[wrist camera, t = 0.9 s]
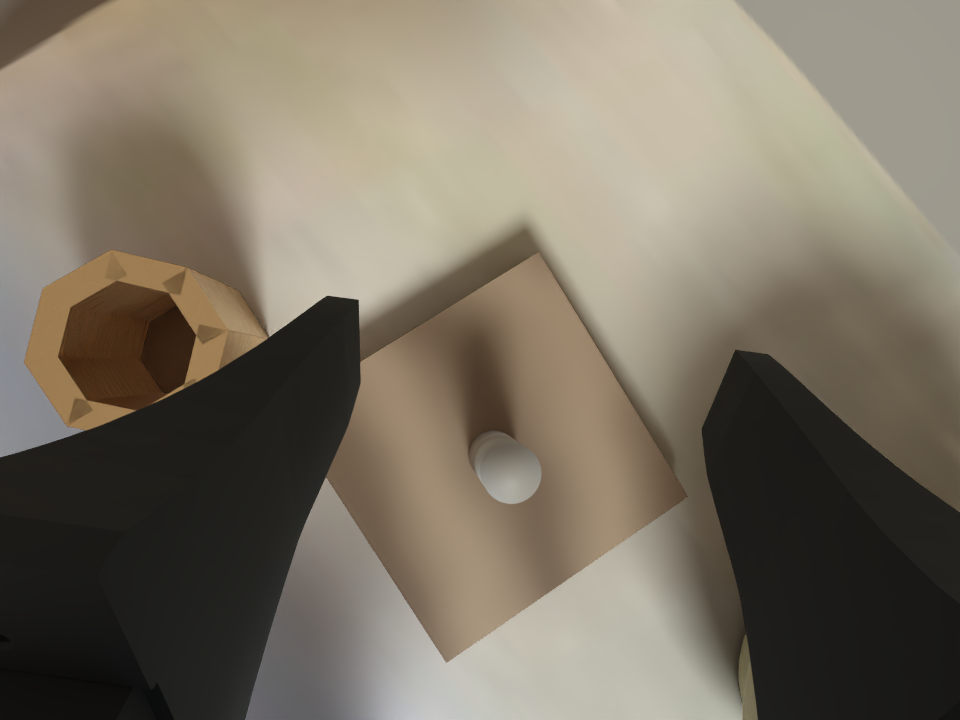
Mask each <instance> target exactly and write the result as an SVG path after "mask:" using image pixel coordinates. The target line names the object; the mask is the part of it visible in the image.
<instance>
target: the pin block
mask: <svg viewBox="0 0 960 720" xmlns="http://www.w3.org/2000/svg"><path fill="white" fill-rule="evenodd" d="M360 373H361V384H360V388H359V391H358V395H357V398H356V402H355V405H354V409H353V412H352V415H351V419H350V422H349V425H348V428H347V430H346V432H345V435H344V437H343V439H342V441H341V444H340V446H339V448H338V451H337V453H336V455H335V457H334V460H333V462H332V464H331V466H330V468H329V471H328V473H327V475H326V477H327V479H328V481H329V482H330V484H331V485H332V487H333V488H334V490H335V491H336V493H337V494H338V496H339V498H340V499H341V501H342V502H343V504H344V505H345V507H346V508H347V510H348V511H349V513H350V515H351V516H352V518H353V519H354V521H355V522H356V524H357V525H358V527H359V528H360V530H361V532H362V533H363V535H364V536H365V538H366V539H367V541H368V542H369V544H370V545H371V547H372V549H373V550H374V552H375V553H376V555H377V556H378V558H379V559H380V561H381V562H382V564H383V566H384V567H385V569H386V570H387V572H388V573H389V575H390V576H391V578H392V579H393V581H394V583H395V584H396V586H397V587H398V589H399V590H400V592H401V593H402V595H403V596H404V598H405V600H406V601H407V603H408V604H409V606H410V607H411V609H412V610H413V612H414V614H415V615H416V617H417V618H418V620H419V621H420V623H421V624H422V626H423V627H424V629H425V631H426V632H427V634H428V635H429V637H430V638H431V640H432V641H433V643H434V644H435V646H436V648H437V649H438V651H439V652H440V654H441V655H442V657H443V658H444V660H445V661H446V663H447V662H448V661H450V660H451V659H453V658H454V657H456V656H457V655H459V654H460V653H461V652H463V651H464V650H466V649H467V648H469V647H470V646H472V645H473V644H475V643H476V642H477V641H479V640H480V639H482V638H483V637H485V636H486V635H488V634H489V633H490V632H492V631H493V630H495V629H496V628H498V627H499V626H501V625H502V624H504V623H505V622H506V621H508V620H509V619H511V618H512V617H514V616H515V615H517V614H518V613H520V612H521V611H522V610H524V609H525V608H527V607H528V606H530V605H531V604H533V603H534V602H536V601H537V600H538V599H540V598H541V597H543V596H544V595H546V594H547V593H549V592H550V591H551V590H553V589H554V588H556V587H557V586H559V585H560V584H562V583H563V582H565V581H566V580H567V579H569V578H570V577H572V576H573V575H575V574H576V573H578V572H579V571H581V570H582V569H583V568H585V567H586V566H588V565H589V564H591V563H592V562H594V561H595V560H597V559H598V558H599V557H601V556H602V555H604V554H605V553H607V552H608V551H610V550H611V549H613V548H614V547H615V546H617V545H618V544H620V543H621V542H623V541H624V540H626V539H627V538H628V537H630V536H631V535H633V534H634V533H636V532H637V531H639V530H640V529H642V528H643V527H644V526H646V525H647V524H649V523H650V522H652V521H653V520H655V519H656V518H658V517H659V516H660V515H662V514H663V513H665V512H666V511H668V510H669V509H671V508H672V507H674V506H675V505H676V504H678V503H679V502H681V501H682V500H684V499H685V498H687V497H688V496H687V494H686V492H685V491H684V489H683V487H682V486H681V484H680V483H679V481H678V479H677V478H676V476H675V474H674V473H673V471H672V469H671V468H670V466H669V465H668V463H667V461H666V460H665V458H664V456H663V455H662V453H661V451H660V450H659V448H658V447H657V445H656V443H655V442H654V440H653V438H652V437H651V435H650V433H649V432H648V430H647V429H646V427H645V425H644V424H643V422H642V420H641V419H640V417H639V415H638V414H637V412H636V410H635V409H634V407H633V406H632V404H631V402H630V401H629V399H628V397H627V396H626V394H625V392H624V391H623V389H622V388H621V386H620V384H619V383H618V381H617V379H616V378H615V376H614V374H613V373H612V371H611V370H610V368H609V366H608V365H607V363H606V361H605V360H604V358H603V356H602V355H601V353H600V352H599V350H598V348H597V347H596V345H595V343H594V342H593V340H592V338H591V337H590V335H589V334H588V332H587V330H586V329H585V327H584V325H583V324H582V322H581V320H580V319H579V317H578V315H577V314H576V312H575V311H574V309H573V307H572V306H571V304H570V302H569V301H568V299H567V297H566V296H565V294H564V293H563V291H562V289H561V288H560V286H559V284H558V283H557V281H556V279H555V278H554V276H553V275H552V273H551V271H550V270H549V268H548V266H547V265H546V263H545V261H544V260H543V258H542V257H541V255H540V253H539V252H538V253H536V254H535V255H533V256H531V257H530V258H528V259H527V260H525V261H523V262H522V263H520V264H518V265H517V266H515V267H514V268H512V269H510V270H509V271H507V272H505V273H504V274H502V275H501V276H499V277H497V278H496V279H494V280H492V281H491V282H489V283H488V284H486V285H484V286H483V287H481V288H479V289H478V290H476V291H475V292H473V293H471V294H470V295H468V296H467V297H465V298H463V299H462V300H460V301H458V302H457V303H455V304H454V305H452V306H450V307H449V308H447V309H445V310H444V311H442V312H441V313H439V314H437V315H436V316H434V317H432V318H431V319H429V320H428V321H426V322H424V323H423V324H421V325H420V326H418V327H416V328H415V329H413V330H411V331H410V332H408V333H407V334H405V335H403V336H402V337H400V338H398V339H397V340H395V341H394V342H392V343H390V344H389V345H387V346H385V347H384V348H382V349H381V350H379V351H377V352H376V353H374V354H372V355H371V356H369V357H368V358H366V359H364V360H363V361H361V362H360Z"/></svg>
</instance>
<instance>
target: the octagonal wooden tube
mask: <svg viewBox="0 0 960 720" xmlns="http://www.w3.org/2000/svg"><path fill="white" fill-rule="evenodd" d="M175 306H178V308H179V309H180V311H181V312H182V314H183V316H184V317H185V319H186V320H187V322H188V323H189V325H190V326H191V328H192V329H193V331H194V332H195V334H196V339H195V343H194V347H193V351H192V355H191V359H190V363H189V367H188V372H187V376H186V380H185V384H184V385H182V386H180V387H179V388H177V389H175V390H174V391H172V392H170V393H169V394H168V393H163V392H162V391H161V390H160V388H159V387H158V385H157V384H156V382H155V381H154V379H153V378H152V376H151V374H150V373H149V371H148V370H147V368H146V367H145V365H144V364H143V362H142V361H141V355H142V351H143V347H144V343H145V339H146V335H147V331H148V327H149V323H150V321H151V320H153V319H155V318H156V317H158V316H160V315H161V314H163V313H165V312H167V311H168V310H170V309H172V308H173V307H175ZM267 338H268V336H267V334H266V333H265V331H264V330H263V328H262V327H261V325H260V324H259V322H258V320H257V319H256V317H255V316H254V314H253V313H252V311H251V310H250V308H249V306H248V305H247V303H246V302H245V300H244V299H243V297H242V296H241V294H240V293H239V291H238V290H235V289H233V288H231V287H229V286H227V285H224V284H222V283H220V282H218V281H216V280H213V279H211V278H209V277H207V276H205V275H202V274H200V273H198V272H196V271H194V270H191V269H189V268H187V267H183V266H178V265H174V264H170V263H166V262H161V261H157V260H153V259H149V258H144V257H140V256H136V255H132V254H128V253H123V252H119V251H115V250H110V251H108V252H106V253H104V254H103V255H101V256H99V257H97V258H96V259H94V260H92V261H90V262H89V263H87V264H85V265H83V266H82V267H80V268H78V269H76V270H74V271H73V272H71V273H69V274H67V275H66V276H64V277H62V278H60V279H59V280H57V281H55V282H53V283H52V284H50V285H48V286H46V287H44V288H43V290H42V293H41V297H40V301H39V305H38V309H37V313H36V317H35V321H34V325H33V329H32V333H31V337H30V341H29V345H28V348H27V352H26V356H25V360H24V363H25V364H26V366H27V367H28V369H29V370H30V372H31V373H32V375H33V376H34V378H35V379H36V381H37V382H38V384H39V385H40V387H41V388H42V390H43V391H44V393H45V394H46V396H47V397H48V399H49V400H50V402H51V403H52V405H53V406H54V408H55V409H56V411H57V412H58V414H59V415H60V417H61V418H62V420H63V421H64V423H65V424H66V426H68V427H73V428H78V429H83V430H89V429H92V428H95V427H97V426H100V425H103V424H105V423H108V422H110V421H112V420H115V419H117V418H120V417H122V416H124V415H127V414H129V413H132V412H134V411H136V410H139V409H141V408H144V407H146V406H148V405H151V404H153V403H155V402H158V401H160V400H162V399H164V398H166V397H168V396H170V395H172V394H174V393H176V392H178V391H180V390H182V389H184V388H186V387H188V386H190V385H192V384H194V383H196V382H198V381H200V380H201V379H203V378H205V377H207V376H209V375H210V374H212V373H214V372H216V371H217V370H219V369H221V368H222V367H224V366H225V365H227V364H229V363H230V362H232V361H233V360H235V359H237V358H238V357H240V356H241V355H243V354H245V353H246V352H248V351H249V350H251V349H253V348H254V347H256V346H257V345H259V344H260V343H262V342H263V341H265V340H266V339H267Z"/></svg>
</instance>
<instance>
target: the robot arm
mask: <svg viewBox="0 0 960 720" xmlns="http://www.w3.org/2000/svg"><path fill="white" fill-rule="evenodd" d="M360 384H361V373H360V336H359V300H355V299H348V298H340V297H333V296H326V297H325V298H323V299H322V300H320V301H319V302H317V303H316V304H315V305H313V306H312V307H311V308H309V309H308V310H307V311H305V312H304V313H302V314H301V315H300V316H298V317H297V318H296V319H294V320H293V321H292V322H290V323H289V324H287V325H286V326H285V327H283V328H282V329H280V330H279V331H277V332H276V333H275V334H273V335H272V336H270V337H269V338H267V339H266V340H265V341H263V342H262V343H260V344H259V345H257V346H256V347H254V348H253V349H251V350H249V351H248V352H246V353H245V354H243V355H241V356H240V357H238V358H237V359H235V360H233V361H232V362H230V363H229V364H227V365H225V366H224V367H222V368H221V369H219V370H217V371H216V372H214V373H212V374H210V375H209V376H207V377H205V378H203V379H201V380H200V381H198V382H196V383H194V384H192V385H190V386H188V387H186V388H184V389H182V390H180V391H178V392H176V393H174V394H172V395H170V396H168V397H166V398H164V399H162V400H160V401H158V402H155V403H153V404H151V405H148V406H146V407H144V408H141V409H139V410H136V411H134V412H132V413H129V414H127V415H124V416H122V417H120V418H117V419H115V420H112V421H110V422H108V423H105V424H103V425H100V426H97V427H95V428H92V429H89V430H86V431H83V432H81V433H78V434H75V435H72V436H69V437H66V438H63V439H60V440H57V441H54V442H51V443H48V444H45V445H42V446H39V447H35V448H32V449H29V450H25V451H22V452H19V453H15V454H12V455H8V456H4V457H0V720H245V717H246V713H247V710H248V706H249V702H250V698H251V695H252V691H253V687H254V684H255V680H256V677H257V673H258V670H259V667H260V663H261V660H262V656H263V653H264V649H265V646H266V642H267V639H268V635H269V632H270V629H271V625H272V622H273V619H274V615H275V612H276V609H277V606H278V602H279V599H280V596H281V593H282V589H283V586H284V583H285V580H286V577H287V574H288V571H289V568H290V565H291V561H292V558H293V555H294V552H295V549H296V546H297V543H298V540H299V537H300V535H301V532H302V530H303V527H304V525H305V522H306V520H307V517H308V515H309V513H310V511H311V508H312V506H313V504H314V502H315V499H316V497H317V495H318V493H319V491H320V488H321V486H322V484H323V482H324V479H325V477H326V475H327V473H328V471H329V468H330V466H331V464H332V462H333V460H334V457H335V455H336V453H337V451H338V448H339V446H340V444H341V441H342V439H343V437H344V435H345V432H346V430H347V428H348V425H349V422H350V419H351V415H352V412H353V409H354V405H355V402H356V398H357V395H358V391H359V388H360ZM702 437H703V446H704V456H705V463H706V470H707V476H708V480H709V484H710V488H711V492H712V495H713V499H714V503H715V506H716V510H717V514H718V517H719V521H720V524H721V528H722V532H723V535H724V539H725V542H726V546H727V549H728V553H729V557H730V560H731V564H732V567H733V571H734V574H735V578H736V582H737V587H738V591H739V595H740V600H741V605H742V611H743V617H744V623H745V629H746V636H747V642H748V648H749V655H750V662H751V670H752V677H753V685H754V692H755V700H756V708H757V717H758V720H960V512H958V511H957V510H955V509H954V508H952V507H951V506H950V505H948V504H947V503H945V502H944V501H943V500H941V499H940V498H938V497H937V496H935V495H934V494H933V493H931V492H930V491H928V490H927V489H926V488H924V487H923V486H921V485H920V484H919V483H917V482H916V481H915V480H913V479H912V478H911V477H909V476H908V475H907V474H905V473H904V472H903V471H902V470H900V469H899V468H898V467H896V466H895V465H894V464H893V463H892V462H890V461H889V460H888V459H887V458H885V457H884V456H883V455H882V454H881V453H879V452H878V451H877V450H876V449H874V448H873V447H872V446H871V445H870V444H868V443H867V442H866V441H865V440H864V439H863V438H861V437H860V436H859V435H858V434H857V433H856V432H854V431H853V430H852V429H851V428H850V427H849V426H848V425H846V424H845V423H844V422H843V421H842V420H841V419H840V418H839V417H838V416H836V415H835V414H834V413H833V412H832V411H831V410H830V409H829V408H828V407H827V406H825V405H824V404H823V403H822V402H821V401H820V400H819V399H818V398H817V397H816V396H815V395H814V394H812V393H811V392H810V391H809V390H808V389H807V388H806V387H805V386H804V385H803V384H802V383H801V382H800V381H798V380H797V379H796V378H795V377H794V376H793V375H792V374H791V373H790V372H789V371H787V370H786V369H785V368H784V367H783V366H782V365H781V364H779V363H778V362H777V361H776V360H775V359H773V358H772V357H771V356H769V355H768V354H762V353H754V352H747V351H739V350H735V352H734V354H733V357H732V359H731V362H730V364H729V366H728V369H727V371H726V373H725V376H724V378H723V380H722V383H721V385H720V387H719V390H718V392H717V394H716V397H715V399H714V402H713V404H712V406H711V409H710V411H709V413H708V416H707V418H706V420H705V423H704V425H703V427H702Z"/></svg>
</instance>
